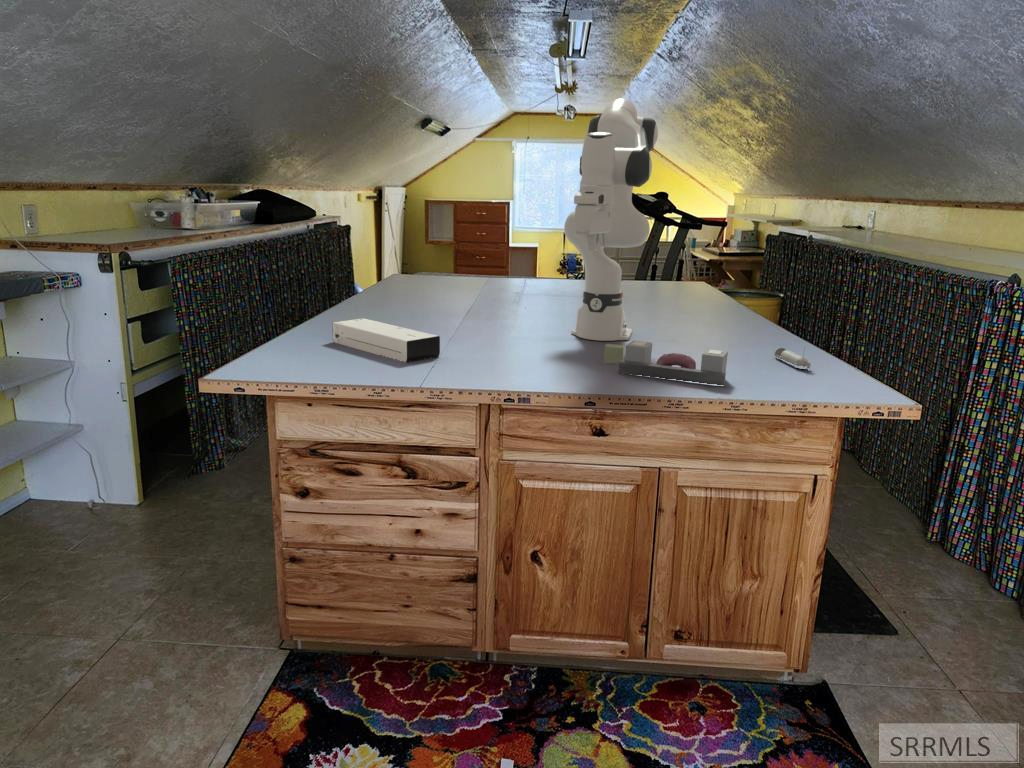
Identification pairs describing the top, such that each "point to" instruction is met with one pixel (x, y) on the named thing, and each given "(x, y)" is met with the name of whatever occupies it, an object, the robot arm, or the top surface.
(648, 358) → the mounted modules
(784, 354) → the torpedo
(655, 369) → the rail bar
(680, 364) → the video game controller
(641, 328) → the top surface
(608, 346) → the block
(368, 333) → the laminator
